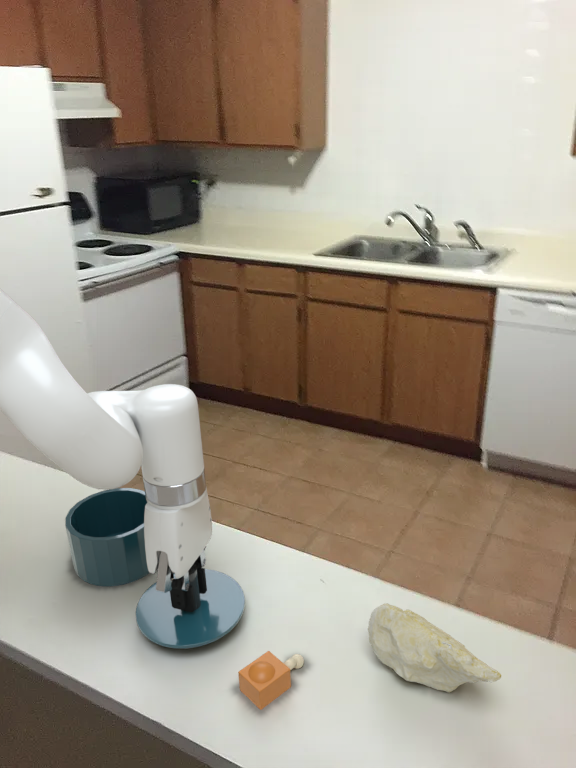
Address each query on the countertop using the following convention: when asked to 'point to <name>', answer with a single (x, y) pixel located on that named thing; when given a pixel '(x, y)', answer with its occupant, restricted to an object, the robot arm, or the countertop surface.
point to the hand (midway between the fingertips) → (189, 598)
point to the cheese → (423, 651)
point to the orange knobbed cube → (267, 678)
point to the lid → (192, 628)
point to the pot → (108, 537)
